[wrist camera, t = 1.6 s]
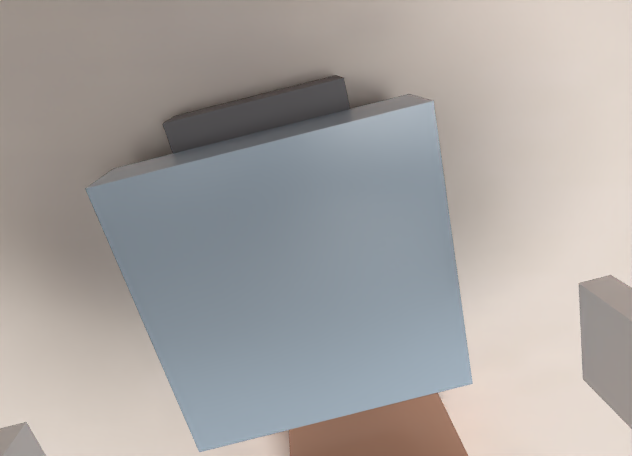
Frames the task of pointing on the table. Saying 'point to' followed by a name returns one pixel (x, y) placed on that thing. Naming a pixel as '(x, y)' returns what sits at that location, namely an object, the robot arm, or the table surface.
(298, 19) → the table surface
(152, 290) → the blue square slab
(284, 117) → the block
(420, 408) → the open box
